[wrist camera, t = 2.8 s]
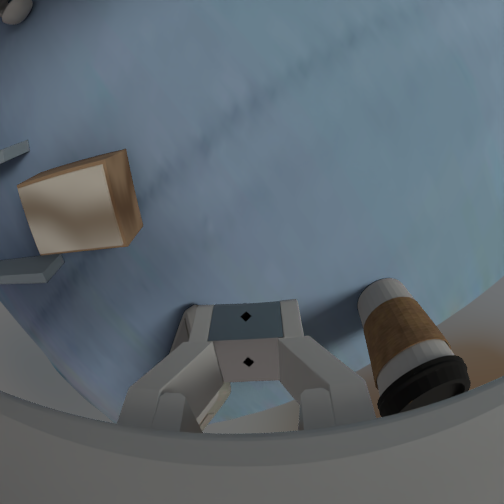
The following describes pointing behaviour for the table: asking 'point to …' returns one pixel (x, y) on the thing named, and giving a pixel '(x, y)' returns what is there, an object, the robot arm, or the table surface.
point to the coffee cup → (407, 350)
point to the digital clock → (225, 390)
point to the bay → (28, 267)
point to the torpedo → (14, 10)
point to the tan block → (82, 205)
